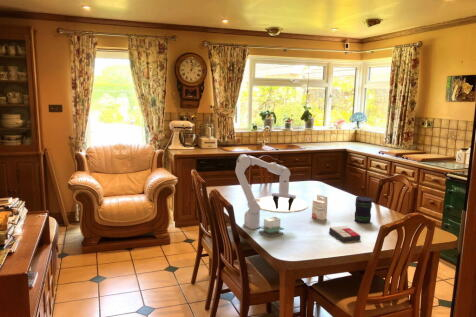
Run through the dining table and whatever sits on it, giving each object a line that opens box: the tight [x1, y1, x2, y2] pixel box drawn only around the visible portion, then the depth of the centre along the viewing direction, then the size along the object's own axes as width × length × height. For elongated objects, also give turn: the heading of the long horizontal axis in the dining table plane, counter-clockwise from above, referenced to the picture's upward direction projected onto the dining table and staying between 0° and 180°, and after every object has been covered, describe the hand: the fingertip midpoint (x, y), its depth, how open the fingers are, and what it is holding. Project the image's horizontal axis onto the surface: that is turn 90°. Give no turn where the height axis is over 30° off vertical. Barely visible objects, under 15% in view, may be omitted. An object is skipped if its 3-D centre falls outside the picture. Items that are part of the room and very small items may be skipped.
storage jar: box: [353, 196, 373, 225], centre depth 244 cm, size 10×10×15 cm
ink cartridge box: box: [311, 194, 328, 221], centre depth 249 cm, size 9×5×15 cm, turn 44°
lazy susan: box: [255, 195, 309, 213], centre depth 280 cm, size 40×39×3 cm
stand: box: [258, 225, 285, 238], centre depth 221 cm, size 10×10×4 cm
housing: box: [263, 216, 281, 230], centre depth 220 cm, size 5×10×5 cm, turn 124°
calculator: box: [328, 225, 361, 243], centre depth 218 cm, size 11×4×15 cm
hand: (283, 209), depth 232 cm, fingers open, 7 cm apart
